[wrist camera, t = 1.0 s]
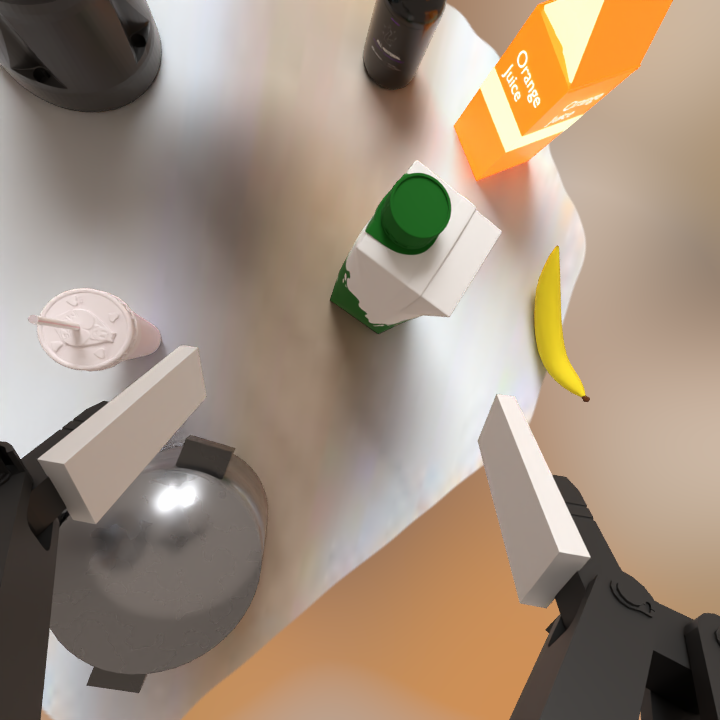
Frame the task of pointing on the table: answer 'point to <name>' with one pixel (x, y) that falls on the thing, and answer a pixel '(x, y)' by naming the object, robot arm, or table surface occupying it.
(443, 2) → the supplement bottle
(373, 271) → the milk carton
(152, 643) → the cooker
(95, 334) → the smoothie
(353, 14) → the table surface
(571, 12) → the orange juice
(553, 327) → the banana
